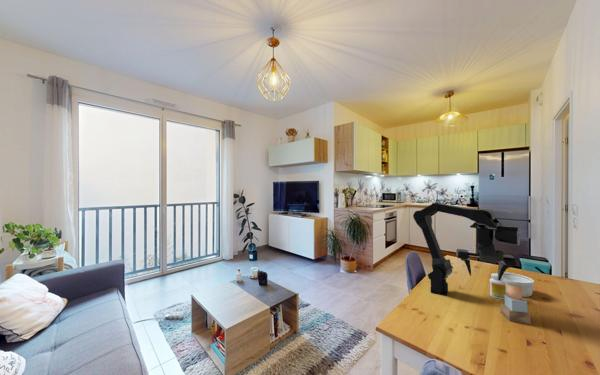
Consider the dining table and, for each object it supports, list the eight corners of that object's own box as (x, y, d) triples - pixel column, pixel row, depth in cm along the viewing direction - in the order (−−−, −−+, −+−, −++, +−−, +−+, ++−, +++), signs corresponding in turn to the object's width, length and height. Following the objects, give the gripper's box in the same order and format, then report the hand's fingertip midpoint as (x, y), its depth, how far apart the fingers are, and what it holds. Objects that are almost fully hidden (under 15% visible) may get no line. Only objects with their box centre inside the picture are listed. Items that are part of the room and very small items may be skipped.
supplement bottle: (509, 300, 97) (508, 277, 97) (494, 299, 98) (494, 276, 98) (500, 294, 102) (500, 273, 102) (487, 293, 103) (486, 272, 103)
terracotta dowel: (509, 298, 82) (509, 287, 82) (506, 294, 85) (506, 283, 86) (524, 301, 80) (524, 290, 80) (520, 296, 83) (520, 286, 84)
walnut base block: (509, 321, 81) (509, 310, 81) (500, 313, 87) (500, 303, 87) (530, 325, 79) (530, 313, 79) (520, 316, 85) (520, 305, 85)
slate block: (512, 311, 81) (511, 300, 81) (504, 305, 85) (504, 294, 85) (527, 312, 80) (527, 301, 80) (519, 306, 84) (518, 296, 84)
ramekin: (503, 295, 101) (502, 280, 101) (490, 284, 113) (490, 270, 113) (541, 300, 96) (541, 284, 96) (524, 288, 108) (524, 274, 108)
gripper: (459, 240, 89) (458, 279, 89) (523, 247, 79) (522, 291, 80) (456, 235, 98) (455, 270, 99) (512, 241, 89) (512, 279, 89)
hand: (484, 277), depth 91 cm, fingers open, 9 cm apart
